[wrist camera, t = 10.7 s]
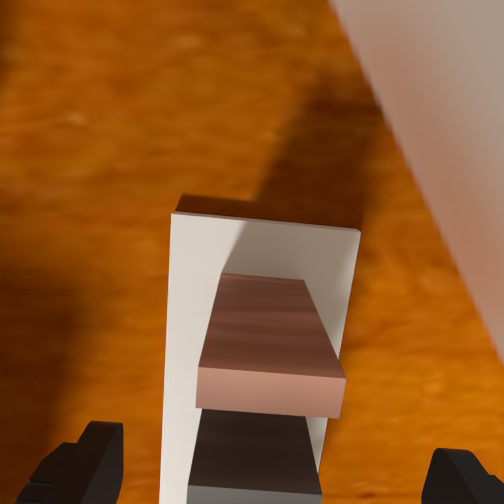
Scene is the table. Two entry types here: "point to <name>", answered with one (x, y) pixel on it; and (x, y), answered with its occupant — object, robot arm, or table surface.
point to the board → (202, 298)
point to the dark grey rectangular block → (252, 460)
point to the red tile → (268, 351)
